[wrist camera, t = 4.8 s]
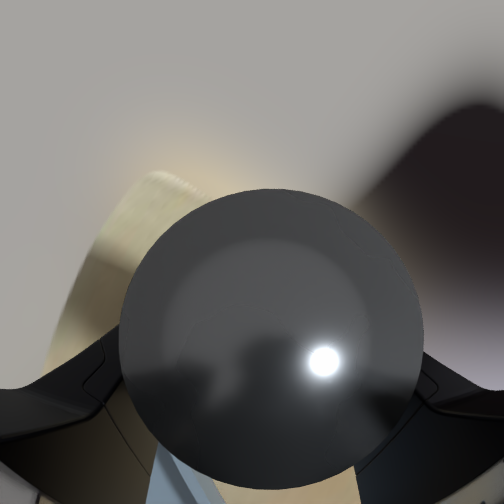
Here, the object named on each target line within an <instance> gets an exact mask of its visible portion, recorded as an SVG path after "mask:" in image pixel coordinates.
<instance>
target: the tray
mask: <svg viewBox="0 0 504 504" xmlns="http://www.w3.org/2000/svg"><path fill="white" fill-rule="evenodd" d="M150 478H151V479H150V484H149V489H148V494H147V499H146V504H226V503H225V501H224V500H223V498H222V496H221V495H220V493H219V491H218V489H217V488H216V486H215V484H214V482H213V480H212V479H211V478H210V477H208V476H206V475H204V474H201V473H199V472H197V471H195V470H194V469H192V468H191V467H189V466H187V465H186V464H184V463H183V462H181V461H180V460H178V459H177V458H176V457H175V456H174V455H172V454H171V453H170V452H169V451H168V450H167V449H166V448H164V447H163V446H162V445H161V444H160V443H159V442H158V447H157V451H156V456H155V460H154V465H153V469H152V474H151V477H150Z"/></svg>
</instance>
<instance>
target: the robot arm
mask: <svg viewBox="0 0 504 504" xmlns="http://www.w3.org/2000/svg"><path fill="white" fill-rule="evenodd" d="M119 325H120V324H119ZM119 325H117V326H116V327H115V328H113V329H112V330H111V331H109V332H108V333H107V334H105V335H104V336H103V337H101V338H100V340H97V341H96V342H94V343H93V344H92V345H90V346H89V347H88V348H86V349H85V350H83V351H82V352H81V353H79V354H78V355H76V356H75V357H73V358H72V359H70V360H69V361H67V362H66V363H64V364H62V365H61V366H59V367H58V368H56V369H54V370H53V371H51V372H49V373H48V374H46V375H44V376H43V377H41V378H40V379H38V380H36V381H35V382H33V383H31V384H29V385H27V386H25V387H22V388H18V389H0V504H146V499H147V494H148V489H149V484H150V479H151V478H150V477H151V474H152V469H153V465H154V460H155V456H156V451H157V447H158V442H159V441H158V440H157V439H156V438H155V437H154V436H153V435H152V433H151V432H150V431H149V430H148V428H147V427H146V425H145V424H144V422H143V421H142V419H141V418H140V416H139V414H138V413H137V411H136V409H135V407H134V405H133V403H132V400H131V398H130V396H129V394H128V391H127V388H126V385H125V381H124V378H123V374H122V370H121V363H120V355H119ZM354 470H355V474H356V475H357V476H356V480H357V485H358V490H359V495H360V500H361V504H504V390H499V391H494V390H488V389H484V388H481V387H479V386H477V385H476V384H474V383H472V382H471V381H469V380H467V379H466V378H464V377H462V376H461V375H459V374H457V373H456V372H454V371H453V370H451V369H449V368H448V367H446V366H445V365H443V364H441V363H440V362H438V361H437V360H435V359H434V358H432V357H431V356H429V355H428V354H426V353H425V352H424V351H423V357H422V363H421V369H420V373H419V377H418V380H417V384H416V387H415V390H414V392H413V395H412V397H411V399H410V402H409V404H408V406H407V408H406V410H405V411H404V413H403V415H402V416H401V418H400V420H399V421H398V423H397V424H396V425H395V427H394V428H393V429H392V431H391V432H390V433H389V435H388V436H387V437H386V438H385V439H384V440H383V441H382V442H381V443H380V444H379V445H378V446H377V447H376V448H375V449H374V450H373V451H372V452H371V453H370V454H368V455H367V456H366V457H364V458H363V459H362V460H361V461H359V462H358V463H356V464H355V465H354Z"/></svg>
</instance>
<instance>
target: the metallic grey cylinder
mask: <svg viewBox="0 0 504 504" xmlns="http://www.w3.org/2000/svg"><path fill="white" fill-rule="evenodd" d="M423 344H424V330H423V320H422V313H421V308H420V304H419V300H418V296H417V293H416V290H415V287H414V285H413V282H412V279H411V277H410V275H409V273H408V271H407V269H406V267H405V265H404V263H403V262H402V260H401V259H400V257H399V256H398V254H397V253H396V252H395V250H394V249H393V247H392V246H391V245H390V244H389V243H388V242H387V240H386V239H385V238H384V237H383V236H382V235H381V234H380V233H379V232H378V231H377V230H376V229H375V228H374V227H373V226H371V225H370V224H369V223H368V222H367V221H365V220H364V219H363V218H361V217H360V216H358V215H357V214H356V213H354V212H353V211H351V210H349V209H347V208H345V207H343V206H342V205H340V204H338V203H336V202H333V201H330V200H328V199H325V198H323V197H320V196H316V195H313V194H309V193H305V192H301V191H293V190H286V189H260V190H251V191H244V192H240V193H235V194H231V195H227V196H225V197H222V198H219V199H216V200H214V201H211V202H208V203H207V204H205V205H203V206H201V207H199V208H197V209H195V210H193V211H191V212H190V213H189V214H187V215H186V216H184V217H183V218H181V219H180V220H179V221H177V222H176V223H175V224H173V225H172V226H171V227H170V228H169V229H168V230H167V231H166V232H165V233H164V234H163V235H162V236H160V238H159V239H158V240H157V241H156V242H155V244H154V245H153V246H152V247H151V248H150V250H149V251H148V252H147V254H146V255H145V257H144V258H143V260H142V261H141V263H140V265H139V266H138V268H137V269H136V272H135V274H134V276H133V278H132V280H131V283H130V285H129V287H128V290H127V293H126V296H125V300H124V303H123V307H122V312H121V318H120V325H119V355H120V363H121V370H122V374H123V378H124V381H125V385H126V388H127V391H128V394H129V396H130V398H131V400H132V403H133V405H134V407H135V409H136V411H137V413H138V414H139V416H140V418H141V419H142V421H143V422H144V424H145V425H146V427H147V428H148V430H149V431H150V432H151V433H152V435H153V436H154V437H155V438H156V439H157V440H158V441H159V443H160V444H161V445H162V446H163V447H164V448H166V449H167V450H168V451H169V452H170V453H171V454H172V455H174V456H175V457H176V458H177V459H178V460H180V461H181V462H183V463H184V464H186V465H187V466H189V467H191V468H192V469H194V470H195V471H197V472H199V473H201V474H204V475H206V476H208V477H210V478H212V479H215V480H217V481H221V482H224V483H227V484H231V485H234V486H238V487H245V488H252V489H264V490H280V489H288V488H296V487H302V486H306V485H309V484H313V483H317V482H320V481H323V480H325V479H328V478H330V477H332V476H335V475H337V474H339V473H341V472H343V471H345V470H346V469H348V468H350V467H351V466H353V465H355V464H356V463H358V462H359V461H361V460H362V459H363V458H364V457H366V456H367V455H368V454H370V453H371V452H372V451H373V450H374V449H375V448H376V447H377V446H378V445H379V444H380V443H381V442H382V441H383V440H384V439H385V438H386V437H387V436H388V435H389V433H390V432H391V431H392V429H393V428H394V427H395V425H396V424H397V423H398V421H399V420H400V418H401V416H402V415H403V413H404V411H405V410H406V408H407V406H408V404H409V402H410V399H411V397H412V395H413V392H414V390H415V387H416V384H417V380H418V377H419V373H420V369H421V363H422V357H423Z"/></svg>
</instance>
